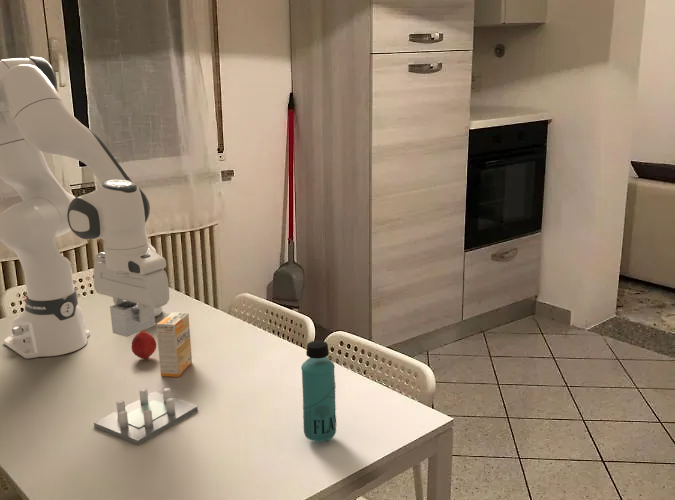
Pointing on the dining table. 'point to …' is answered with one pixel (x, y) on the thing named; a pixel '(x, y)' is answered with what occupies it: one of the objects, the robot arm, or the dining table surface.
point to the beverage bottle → (318, 393)
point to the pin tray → (145, 432)
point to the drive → (129, 319)
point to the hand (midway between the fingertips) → (133, 318)
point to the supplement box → (174, 344)
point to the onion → (143, 345)
